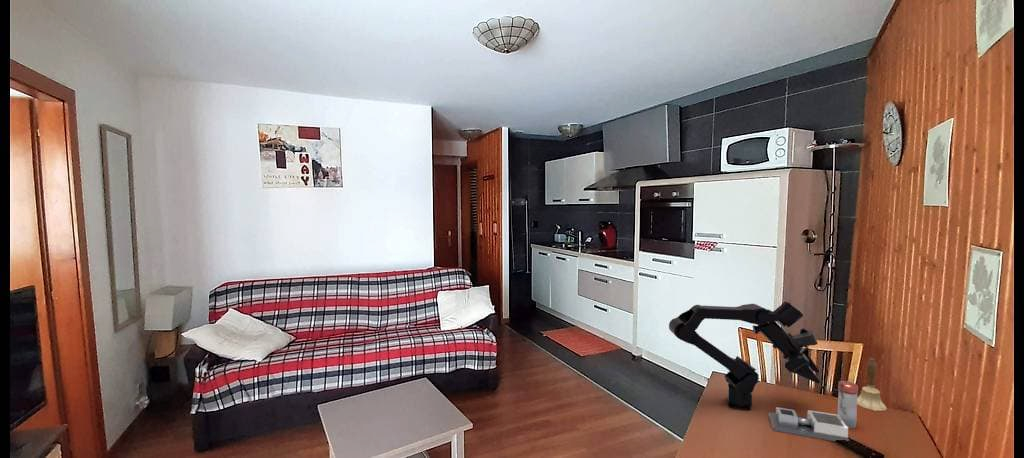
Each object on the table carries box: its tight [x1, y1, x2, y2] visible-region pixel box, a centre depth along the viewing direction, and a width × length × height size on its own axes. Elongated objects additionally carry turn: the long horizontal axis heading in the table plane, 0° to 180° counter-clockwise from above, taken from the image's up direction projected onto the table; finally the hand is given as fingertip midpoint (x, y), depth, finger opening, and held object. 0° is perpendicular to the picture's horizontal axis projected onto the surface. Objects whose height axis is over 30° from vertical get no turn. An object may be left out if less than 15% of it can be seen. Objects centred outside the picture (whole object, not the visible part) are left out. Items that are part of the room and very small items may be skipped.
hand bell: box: [857, 357, 888, 412], centre depth 135 cm, size 8×8×16 cm
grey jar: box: [837, 380, 859, 429], centre depth 124 cm, size 5×5×12 cm
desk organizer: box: [768, 406, 850, 442], centre depth 122 cm, size 18×9×4 cm, turn 66°
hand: (818, 377), depth 128 cm, fingers open, 9 cm apart
